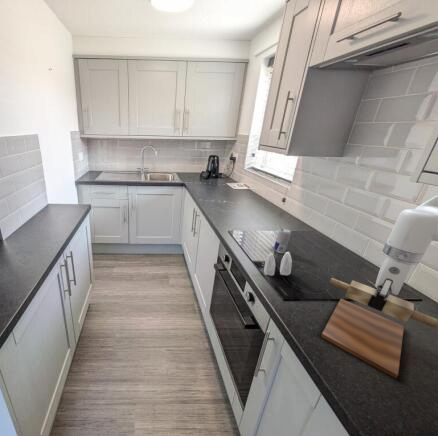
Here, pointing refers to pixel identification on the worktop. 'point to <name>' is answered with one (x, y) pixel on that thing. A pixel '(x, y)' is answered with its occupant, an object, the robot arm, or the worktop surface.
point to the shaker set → (284, 267)
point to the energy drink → (282, 240)
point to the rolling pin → (392, 307)
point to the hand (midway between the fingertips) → (375, 303)
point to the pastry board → (366, 336)
